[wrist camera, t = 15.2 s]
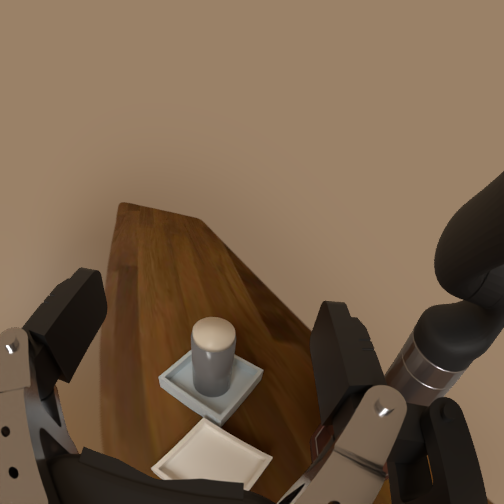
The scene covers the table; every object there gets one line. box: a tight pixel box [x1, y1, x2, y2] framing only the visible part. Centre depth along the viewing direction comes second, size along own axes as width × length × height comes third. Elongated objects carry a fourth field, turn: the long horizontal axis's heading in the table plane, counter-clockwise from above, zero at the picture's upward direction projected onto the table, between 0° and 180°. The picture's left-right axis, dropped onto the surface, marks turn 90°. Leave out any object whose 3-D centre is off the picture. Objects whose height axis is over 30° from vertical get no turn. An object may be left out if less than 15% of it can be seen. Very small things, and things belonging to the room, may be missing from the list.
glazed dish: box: [159, 350, 264, 428], centre depth 38 cm, size 11×11×2 cm
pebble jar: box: [191, 317, 236, 397], centre depth 35 cm, size 6×6×11 cm
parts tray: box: [151, 417, 273, 491], centre depth 25 cm, size 10×10×2 cm
